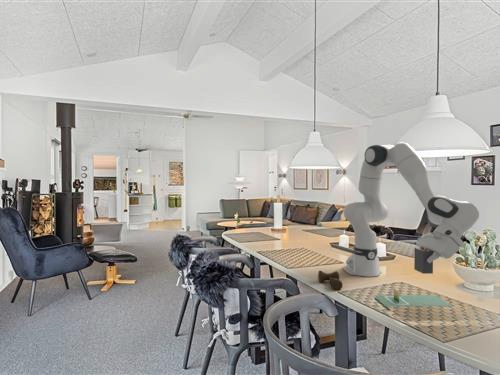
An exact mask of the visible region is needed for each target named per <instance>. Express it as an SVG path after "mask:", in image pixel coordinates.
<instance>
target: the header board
mask: <svg viewBox="0 0 500 375" xmlns="http://www.w3.org/2000/svg"><path fill="white" fill-rule="evenodd" d="M373 299H374V301H376V302H378V303H379V304H380V305H381V306H382V307H383V308H384V309H385V310H387V311H391V309H390V308H389V307H454V305H453V304H451V303H450V302H448V301H446V300H445V299H443V298H441V297H439V296H438V295H436V294H399V302H397V301H396V300H395V299H394V294H390V295H388V294H382V295H381V294H374V298H373Z"/></svg>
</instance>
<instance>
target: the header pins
mask: <svg viewBox="0 0 500 375" xmlns="http://www.w3.org/2000/svg"><path fill="white" fill-rule="evenodd" d="M393 295H394V299H395V300H396V301H397V302H399V295H400V291H398V290H397V289H396V288H394V289H393Z"/></svg>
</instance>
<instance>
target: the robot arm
mask: <svg viewBox="0 0 500 375" xmlns="http://www.w3.org/2000/svg"><path fill="white" fill-rule="evenodd" d="M385 168H390V169H391V168H396V169H397V171H398V172H399V174H400V175H401V176H402V177H403V179H404V180H405V181H406V182H407V183H408V185H409V186H410V187H411V189H412V190H413V191H414V192H415V195H416V196H417V197H418V199H419V201H420V202H421V204H422V206H423V207H424V210H425V211H426V218H427V222H428V224H429V225H430V226H432V227H433V228H435V229H434V230H433V232H428V233H426V234H424V235H423V236H422V237H420V238H419V239H418V240H417V241H416V242H415V245H416V248H421V246H423V247H426V248H427V249H428V250H431V251H433V255H431V256H430V257H427V258H426V259H425V260H426V261H427V262H428V263H431V262H432V261H433V262H434V261H435V260H438V259H439V258H442V259H444V260H447V259H450V258H451V257H453V256H454V255H455V254H456V253H457V252H458V251H459V250H460V248H462V247H464V245H465V242H464V241H463V240H462V239H461V238H462V237H463V234H465V233H466V232H468V231H469V230H470V229H471V228H472V227H473V226H474V225H475V224H476V222H477V221H478V220H479V217H480V212H479V209H478V208H477V207H476V206H475V205H474V204H473V203H471V202H469V201H460V200H455V199H451V198H449V197H447V196H444V195H435V194H434V193H433V191H432V189H431V186H430V184H429V180H428V179H429V178H428V170H427V167H426V165H425V163H424V161H423V159H422V158H421V156H420V155H419V154H418V153H417V151H416V150H415V149H414V148H413V147H412V146H411V145H410V144H408V143H406V142H399V143H396V144H394V145H392V144H380V145H379V144H374V145H370V146H368V147H367V148H366V149H365V152H364V159H363V162H362V165H361V170H360V174H359V181H358V189H357V190H358V191H359V193H360V194H362V195H363V197H364V201H359V202H358V201H356V202H350V203H348V204H346V205H345V207H344V209H343V215H344V216H343V217H344V218H345V220H346V221H347V222H349V224H350V225H351V227H352V229H353V232H354V246H353V247H352V249H353V252H352V254H351V255H350V256H349V257H348V258H347V259H346V262H345V263H346V265H344V266H342V269H343V270H344V271H345V272H346V273H348V274H349V275H352V276H353V275H354V276H359V277H367V278H368V277H371V278H372V277H378V276H380V275H381V274H382V270H380V259H379V257H378V248H377V233H376V232H375V231H374V230H372V229H371V227H370V223H377V222H381V221H384V220H385V219H386V218H387V217H388V214H389V212H388V207H387V205H386V204H385V203H384V202H383V199H382V196H381V185H382V180H383V172H384V169H385Z"/></svg>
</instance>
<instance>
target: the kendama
mask: <svg viewBox="0 0 500 375" xmlns="http://www.w3.org/2000/svg"><path fill="white" fill-rule="evenodd" d="M317 280H318V282H319V283H320V284H323V283H324V282H326V281H329V285H330V287H331V288H332V290H333V291H340V290H342V288H343V282H342V281H341V280H340V274H339V271H336V270H335V271H333V272H330V273H328V272H327V273H326V272H325V271H322V270H319V271H318V274H317Z"/></svg>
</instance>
